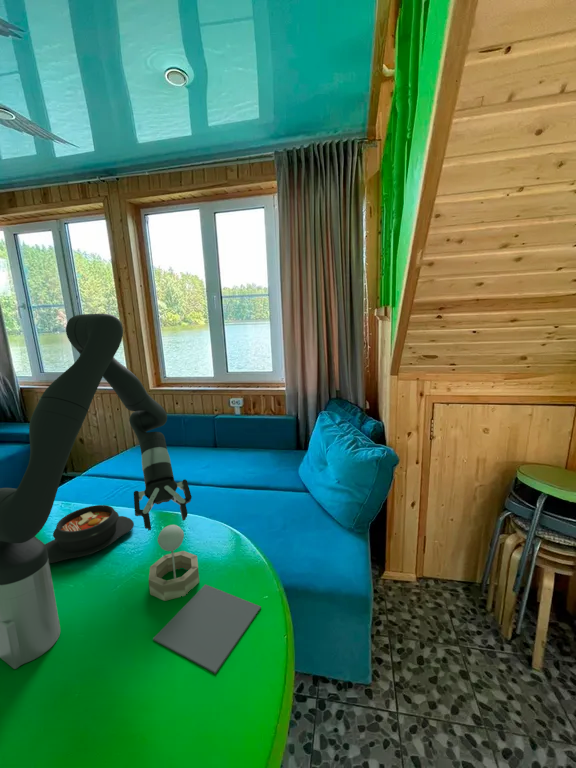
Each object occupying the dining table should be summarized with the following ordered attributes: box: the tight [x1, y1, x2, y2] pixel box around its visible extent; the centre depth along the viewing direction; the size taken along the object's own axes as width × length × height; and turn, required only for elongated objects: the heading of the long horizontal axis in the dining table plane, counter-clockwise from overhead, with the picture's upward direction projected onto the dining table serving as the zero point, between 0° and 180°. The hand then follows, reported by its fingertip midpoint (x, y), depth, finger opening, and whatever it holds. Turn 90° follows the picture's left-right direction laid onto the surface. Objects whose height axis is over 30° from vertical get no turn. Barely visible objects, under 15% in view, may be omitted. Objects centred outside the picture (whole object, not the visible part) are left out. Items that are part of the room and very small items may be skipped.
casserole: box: [44, 504, 135, 564], centre depth 100 cm, size 25×19×8 cm
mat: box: [152, 583, 262, 675], centre depth 71 cm, size 16×16×1 cm
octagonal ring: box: [148, 550, 200, 602], centre depth 83 cm, size 12×11×4 cm
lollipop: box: [157, 524, 185, 579], centre depth 82 cm, size 6×6×15 cm
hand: (167, 524), depth 86 cm, fingers open, 8 cm apart
